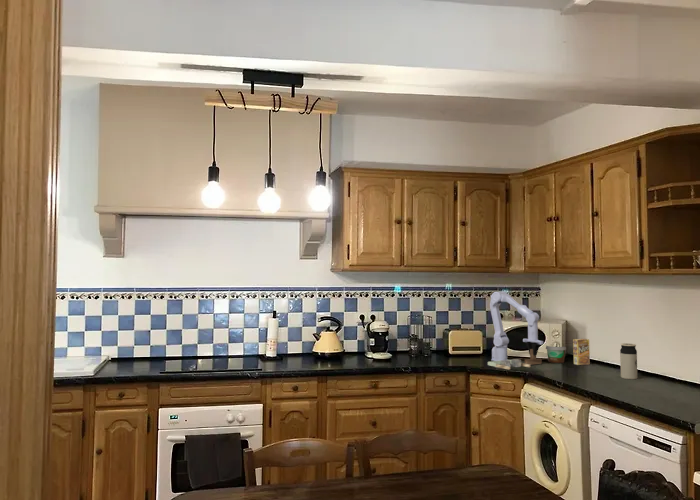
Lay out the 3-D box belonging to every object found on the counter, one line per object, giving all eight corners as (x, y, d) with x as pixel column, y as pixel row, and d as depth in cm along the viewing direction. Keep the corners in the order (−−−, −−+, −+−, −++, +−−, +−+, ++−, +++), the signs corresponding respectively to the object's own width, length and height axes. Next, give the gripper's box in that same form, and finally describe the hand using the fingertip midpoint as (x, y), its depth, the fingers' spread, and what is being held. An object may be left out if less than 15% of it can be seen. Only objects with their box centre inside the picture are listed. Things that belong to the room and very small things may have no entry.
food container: (544, 362, 351) (544, 346, 351) (546, 360, 356) (545, 345, 357) (565, 363, 345) (565, 347, 346) (566, 362, 351) (566, 346, 351)
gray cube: (511, 366, 338) (511, 359, 338) (516, 365, 340) (516, 359, 340) (516, 367, 335) (516, 360, 335) (521, 366, 337) (521, 359, 337)
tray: (487, 365, 342) (487, 361, 342) (508, 362, 350) (508, 359, 350) (495, 366, 336) (495, 363, 336) (517, 364, 344) (516, 361, 344)
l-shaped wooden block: (524, 364, 340) (524, 349, 341) (538, 363, 346) (538, 348, 346) (527, 365, 338) (527, 350, 338) (541, 363, 344) (541, 348, 344)
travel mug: (617, 377, 300) (617, 344, 301) (625, 376, 305) (624, 342, 306) (632, 380, 294) (631, 345, 294) (640, 378, 299) (639, 344, 299)
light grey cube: (500, 366, 336) (500, 360, 336) (505, 366, 338) (505, 359, 338) (505, 367, 333) (505, 361, 333) (510, 367, 335) (510, 360, 335)
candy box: (578, 365, 340) (577, 339, 340) (573, 364, 344) (572, 339, 344) (590, 364, 342) (589, 339, 343) (585, 363, 346) (584, 338, 347)
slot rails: (495, 366, 336) (495, 364, 336) (517, 364, 344) (516, 361, 344) (509, 369, 326) (509, 367, 326) (530, 367, 334) (530, 364, 334)
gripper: (519, 331, 347) (519, 353, 347) (537, 334, 334) (537, 357, 334) (527, 331, 350) (527, 353, 350) (545, 333, 338) (545, 356, 337)
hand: (533, 355), depth 342 cm, fingers closed on l-shaped wooden block, 2 cm apart
